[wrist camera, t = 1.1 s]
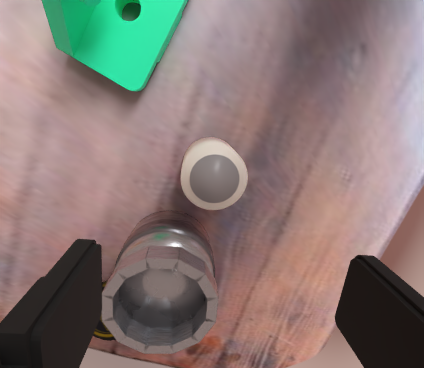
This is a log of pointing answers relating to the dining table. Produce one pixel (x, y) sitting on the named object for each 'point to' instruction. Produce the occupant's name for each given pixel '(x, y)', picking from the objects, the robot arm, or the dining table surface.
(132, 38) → the camera mount
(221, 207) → the cap
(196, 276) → the grey hollow cylinder
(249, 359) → the dining table surface
